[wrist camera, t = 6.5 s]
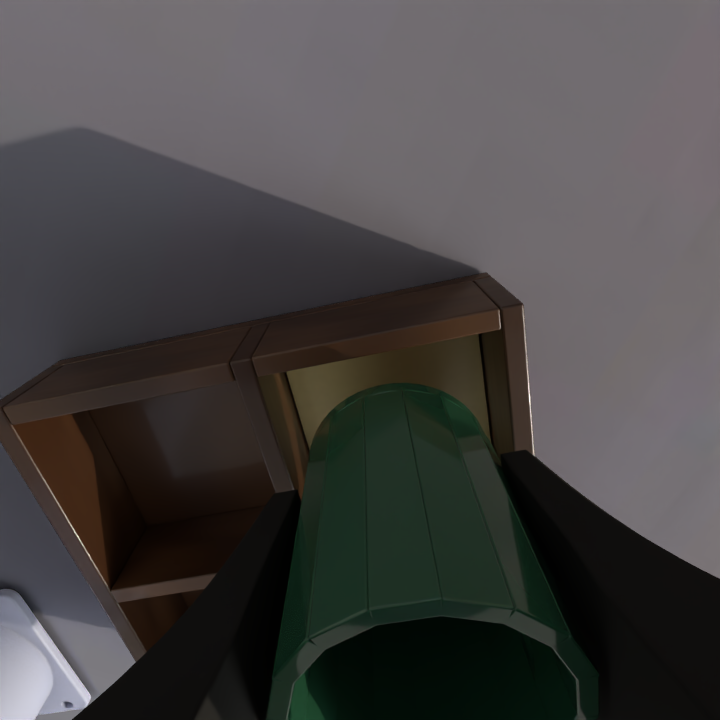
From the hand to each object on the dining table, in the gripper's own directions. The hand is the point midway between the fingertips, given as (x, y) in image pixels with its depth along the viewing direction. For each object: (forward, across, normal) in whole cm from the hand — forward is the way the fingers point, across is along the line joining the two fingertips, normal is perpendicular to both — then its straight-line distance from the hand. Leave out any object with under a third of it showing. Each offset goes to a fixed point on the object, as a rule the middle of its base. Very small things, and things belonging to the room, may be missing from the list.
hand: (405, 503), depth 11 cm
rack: (+6, +4, +4) cm, 8 cm away
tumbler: (+2, 0, 0) cm, 2 cm away
